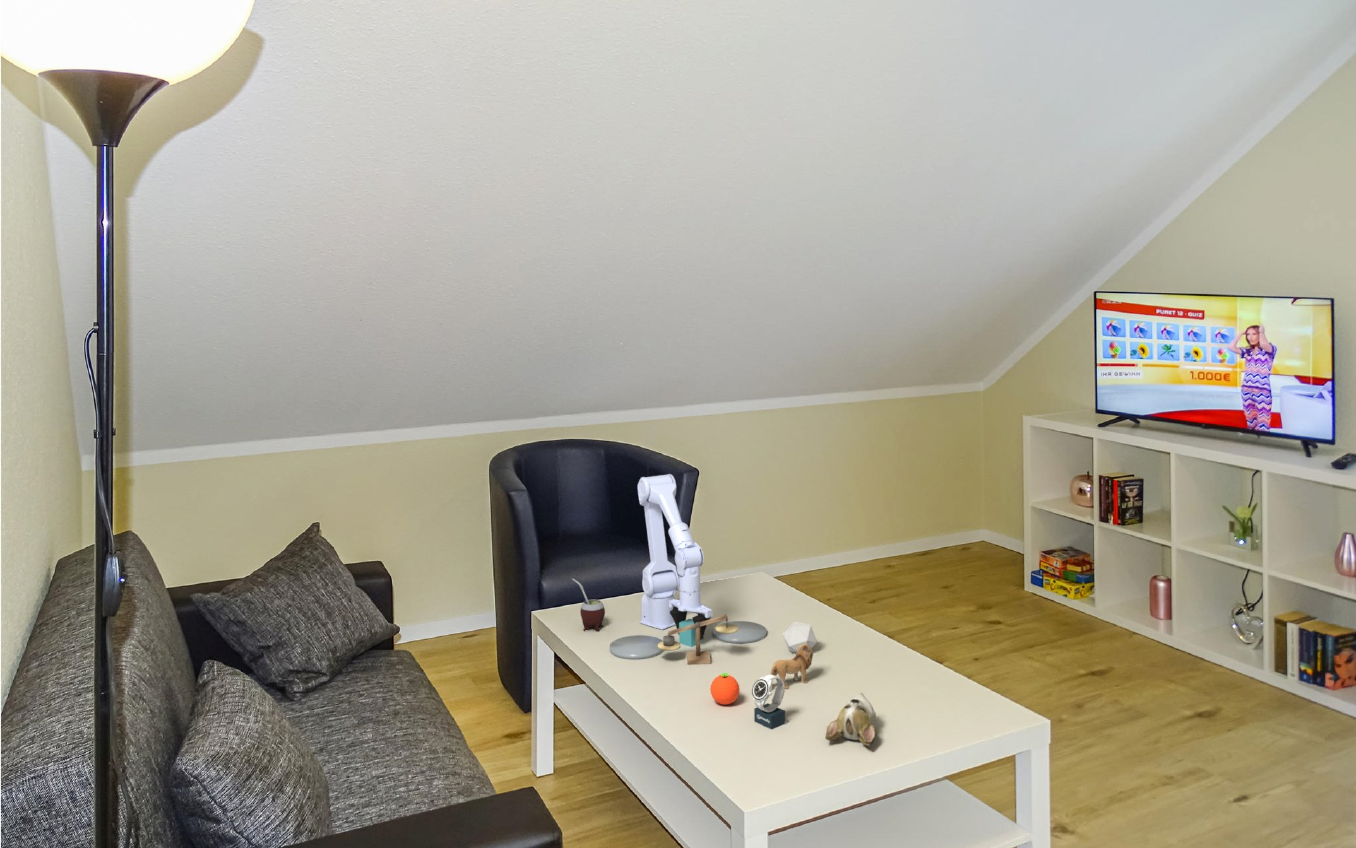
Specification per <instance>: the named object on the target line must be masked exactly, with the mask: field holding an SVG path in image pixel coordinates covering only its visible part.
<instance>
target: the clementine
mask: <svg viewBox="0 0 1356 848" xmlns="http://www.w3.org/2000/svg"><path fill="white" fill-rule="evenodd" d="M709 690H710V695H711V697H712V699H714V701H715V702H717V704H719V705H720V704H721V705H730V704H732V703H734V702H735V701H736V700H737V698H738V697H739V695H740V684H739V682H738V681H737V679H736V678H735V677H733V676H732V675H730V674H728V672H723V673H721V674H720V675H718V676H716V677H715V678H714V679H712V682H711V684H710V688H709Z"/></svg>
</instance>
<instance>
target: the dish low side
mask: <svg viewBox="0 0 1356 848" xmlns="http://www.w3.org/2000/svg"><path fill="white" fill-rule="evenodd" d="M662 641H663V640H662V639H661V638H658V637H656V636H653V635H652V636H651V635H641V634H638V635H627V636H623V637H619V638H617V639H615V640H613V641H612V642H610V644H609V652H610V654H611V655H613V656H614V657H617V658H619V659H625V660H643V659H645V660H646V659H650V658H655V657H657V656H660V655H661V654H662V653H664V652H665V651H664V650H660V649H659V648H658V643H660V642H662Z"/></svg>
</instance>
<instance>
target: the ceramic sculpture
mask: <svg viewBox="0 0 1356 848" xmlns="http://www.w3.org/2000/svg"><path fill="white" fill-rule="evenodd" d="M876 717H877V713H876V711H875V709H874V708H873V705H872V704H871V702H870V700H868V698H867V697H866V696H865V694H864V693H862V692H860V693H859V694H857V695H856V696H854V697H852V698H851V699H850V700H848V701H847V702H846V704H845V705H844V707H842V709H840V711H839V713H838V716H837V719H835V720H833V721H830V723H829V725H827V727H826V733H825V740H827V741H834V740H835V741H836V740H839V739H840V738H841V736H843V738H845V739H849V740H853V741H860V743H862V744H863V745H865V746H870V745H872V744H873V743H874V741H875V739H876V728H875V727H874V726H873V723H874V722H875V720H876Z"/></svg>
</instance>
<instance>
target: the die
mask: <svg viewBox="0 0 1356 848" xmlns="http://www.w3.org/2000/svg"><path fill="white" fill-rule="evenodd" d="M782 637H783V640H784V642H785V644H786V648H787V649H788V651H789V652H791V653H795V654H796V653H797V651H798V647H799V646H800V645H801V644H808V645H810V647H811V648H812V649H813V647H814V646H815V645H816V644H818V641H817V637H816V635H815V632H814V630H813V627H812V625H811V624H809V623H804V622H800V621H797V620H795V621H794V622H793V623H791V625H790V626H789V627H788V628H787V629H785V630H784V631H783V633H782Z"/></svg>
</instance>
